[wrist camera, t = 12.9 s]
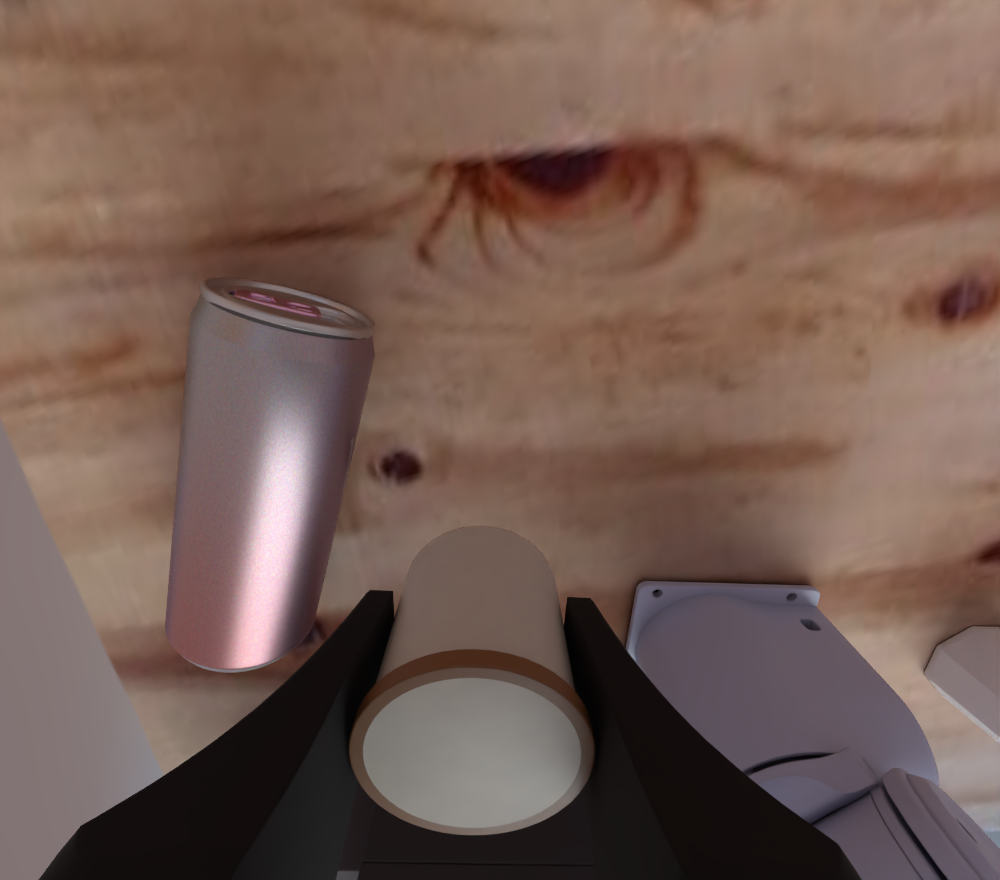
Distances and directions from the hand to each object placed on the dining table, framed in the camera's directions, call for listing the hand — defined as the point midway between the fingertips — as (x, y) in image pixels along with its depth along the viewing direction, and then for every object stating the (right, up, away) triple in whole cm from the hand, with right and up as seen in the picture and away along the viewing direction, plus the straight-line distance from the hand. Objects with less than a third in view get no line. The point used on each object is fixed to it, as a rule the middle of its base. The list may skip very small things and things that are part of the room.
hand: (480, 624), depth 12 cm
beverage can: (-11, -4, +9) cm, 15 cm away
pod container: (0, +1, +1) cm, 1 cm away
